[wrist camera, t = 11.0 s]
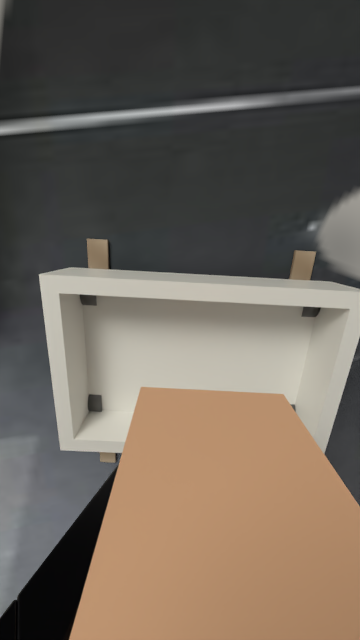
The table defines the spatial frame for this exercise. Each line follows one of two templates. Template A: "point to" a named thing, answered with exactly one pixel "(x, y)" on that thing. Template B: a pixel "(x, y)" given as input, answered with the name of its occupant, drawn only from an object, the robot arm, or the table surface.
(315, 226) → the table surface
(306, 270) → the track
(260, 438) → the part block
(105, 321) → the white open storage bin
